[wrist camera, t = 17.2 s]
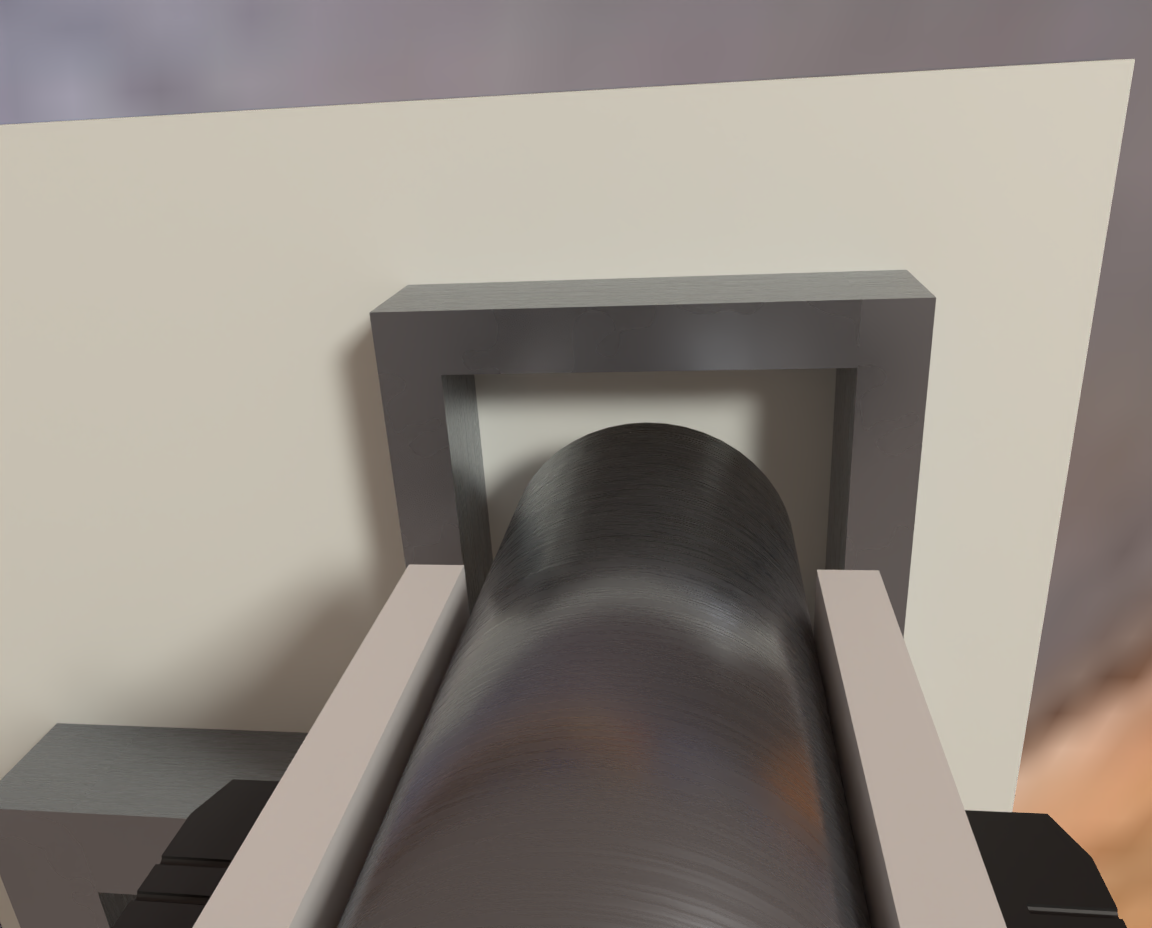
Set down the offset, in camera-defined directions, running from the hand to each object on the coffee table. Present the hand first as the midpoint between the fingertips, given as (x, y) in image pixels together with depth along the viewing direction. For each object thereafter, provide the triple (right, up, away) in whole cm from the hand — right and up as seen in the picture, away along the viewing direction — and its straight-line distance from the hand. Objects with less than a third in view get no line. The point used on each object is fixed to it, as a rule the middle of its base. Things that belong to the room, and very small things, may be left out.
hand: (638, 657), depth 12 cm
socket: (+1, +2, +4) cm, 5 cm away
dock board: (-4, -2, +7) cm, 9 cm away
